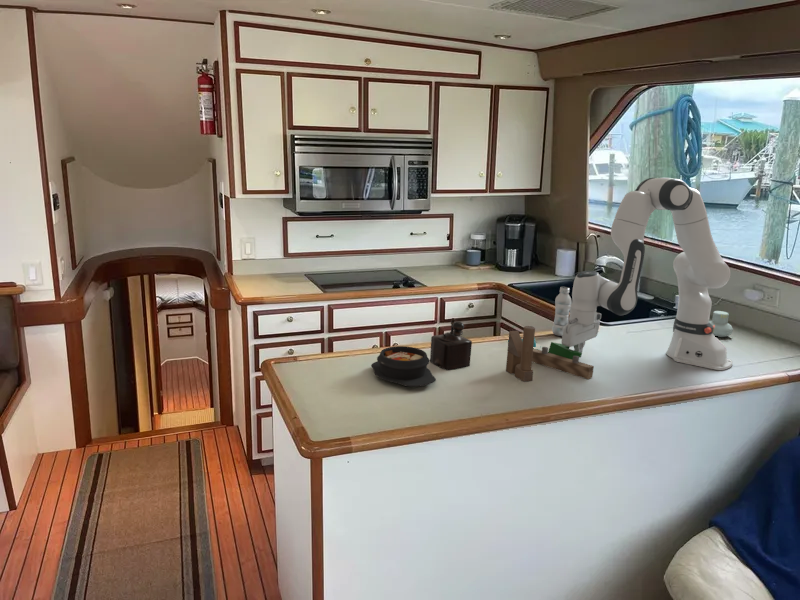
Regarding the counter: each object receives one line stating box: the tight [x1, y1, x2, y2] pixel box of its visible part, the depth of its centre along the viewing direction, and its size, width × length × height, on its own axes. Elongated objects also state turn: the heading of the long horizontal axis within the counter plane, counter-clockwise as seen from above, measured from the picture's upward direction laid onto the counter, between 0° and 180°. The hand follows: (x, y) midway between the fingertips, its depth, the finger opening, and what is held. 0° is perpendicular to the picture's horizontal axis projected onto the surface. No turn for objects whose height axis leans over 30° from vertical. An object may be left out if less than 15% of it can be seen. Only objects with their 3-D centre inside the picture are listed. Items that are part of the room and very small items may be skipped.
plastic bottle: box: [551, 286, 572, 337], centre depth 254 cm, size 6×7×20 cm
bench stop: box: [532, 346, 594, 380], centre depth 218 cm, size 24×3×6 cm, turn 46°
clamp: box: [548, 341, 583, 360], centre depth 226 cm, size 12×6×9 cm, turn 17°
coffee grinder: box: [429, 317, 473, 371], centre depth 214 cm, size 16×11×18 cm
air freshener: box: [709, 310, 734, 338], centre depth 265 cm, size 11×8×10 cm
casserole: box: [370, 345, 437, 388], centre depth 204 cm, size 25×19×8 cm
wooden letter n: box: [505, 325, 536, 383], centre depth 208 cm, size 4×11×18 cm, turn 24°
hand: (578, 353), depth 227 cm, fingers closed
